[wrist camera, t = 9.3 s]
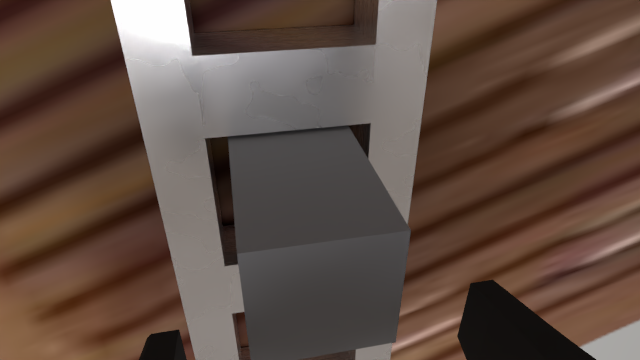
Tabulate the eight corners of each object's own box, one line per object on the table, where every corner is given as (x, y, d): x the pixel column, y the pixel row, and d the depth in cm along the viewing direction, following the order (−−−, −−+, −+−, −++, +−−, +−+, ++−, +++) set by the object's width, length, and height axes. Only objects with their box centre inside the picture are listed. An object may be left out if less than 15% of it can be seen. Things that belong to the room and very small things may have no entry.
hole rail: (426, -229, 12) (470, -253, 10) (372, 340, 25) (387, 380, 23) (76, -246, 11) (45, -279, 9) (208, 369, 24) (208, 415, 22)
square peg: (332, 99, 17) (411, 230, 11) (331, 187, 19) (395, 342, 13) (225, 108, 16) (236, 254, 10) (236, 198, 19) (252, 367, 12)
